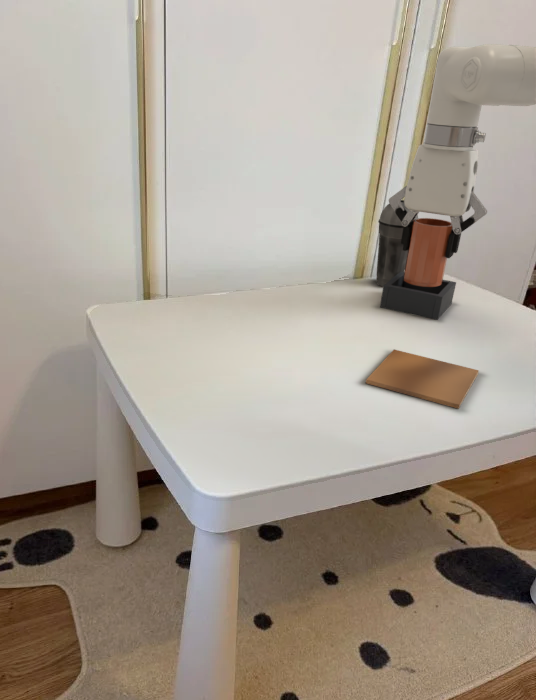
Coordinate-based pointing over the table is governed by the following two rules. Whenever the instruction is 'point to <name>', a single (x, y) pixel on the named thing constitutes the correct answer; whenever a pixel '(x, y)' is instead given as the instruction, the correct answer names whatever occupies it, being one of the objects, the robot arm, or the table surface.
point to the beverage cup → (390, 245)
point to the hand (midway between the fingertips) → (427, 251)
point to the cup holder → (417, 297)
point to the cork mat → (424, 378)
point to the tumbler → (427, 252)
